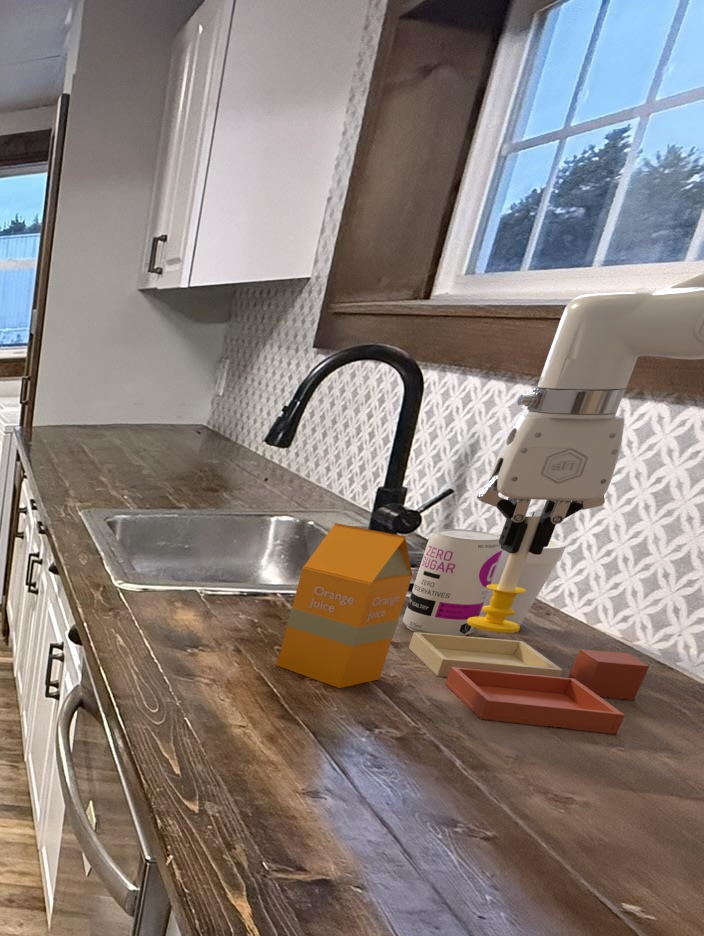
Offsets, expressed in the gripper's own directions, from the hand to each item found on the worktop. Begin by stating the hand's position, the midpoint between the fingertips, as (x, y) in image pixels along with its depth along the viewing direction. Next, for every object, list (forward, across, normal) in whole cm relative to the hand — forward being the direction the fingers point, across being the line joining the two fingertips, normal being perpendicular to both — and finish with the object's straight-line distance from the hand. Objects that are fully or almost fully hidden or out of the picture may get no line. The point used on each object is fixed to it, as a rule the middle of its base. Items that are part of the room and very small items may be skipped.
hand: (520, 550), depth 107 cm
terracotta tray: (+16, 0, -14) cm, 22 cm away
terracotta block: (+16, +10, -5) cm, 20 cm away
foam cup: (+17, +9, +22) cm, 29 cm away
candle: (+11, 0, 0) cm, 11 cm away
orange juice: (+17, -19, -8) cm, 27 cm away
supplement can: (+17, 0, +16) cm, 23 cm away
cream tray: (+16, 0, 0) cm, 16 cm away
